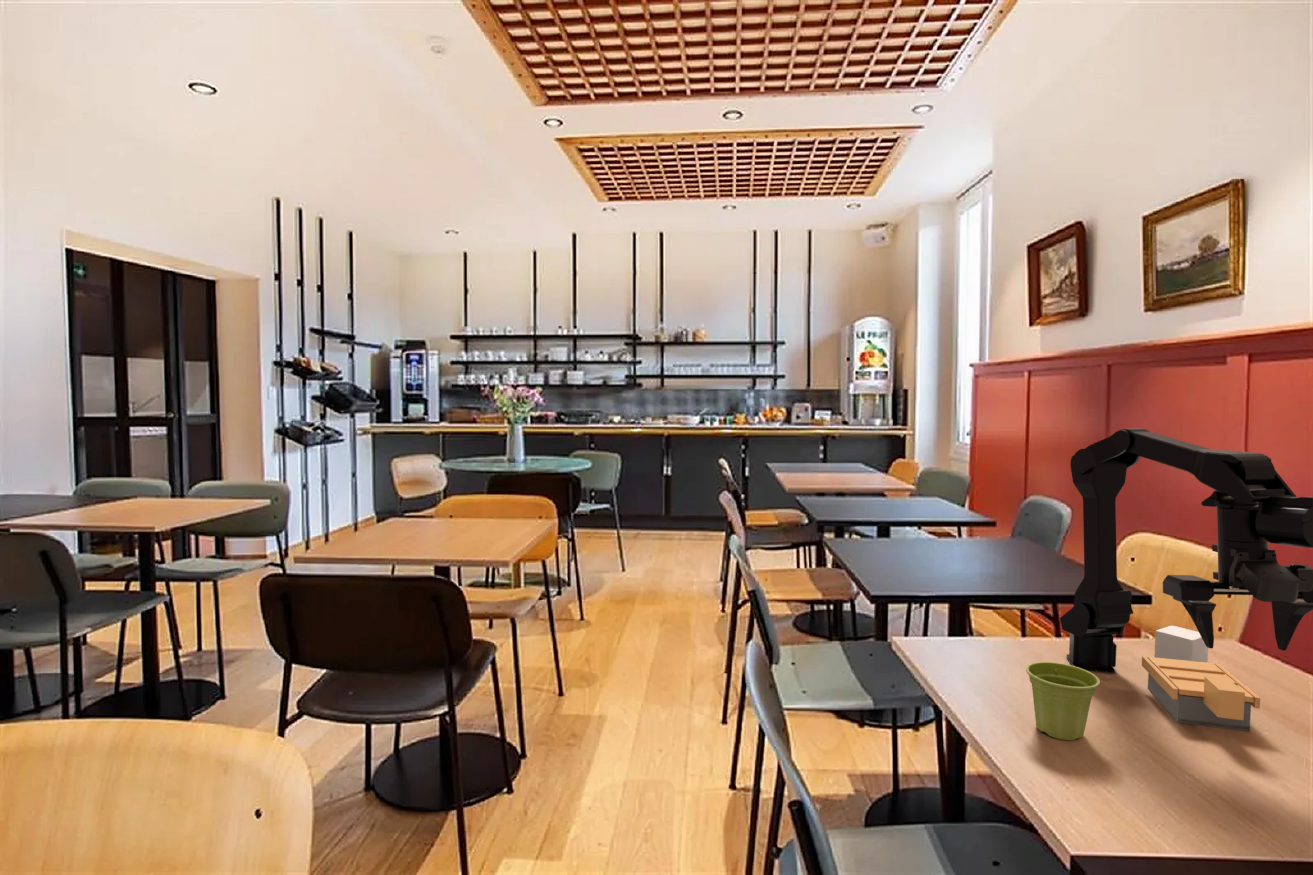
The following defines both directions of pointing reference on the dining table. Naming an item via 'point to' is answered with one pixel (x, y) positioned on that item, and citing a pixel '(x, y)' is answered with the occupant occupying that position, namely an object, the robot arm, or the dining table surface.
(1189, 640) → the white cube
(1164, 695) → the tub
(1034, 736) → the dining table surface
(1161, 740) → the dining table surface
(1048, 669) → the plant pot
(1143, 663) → the lid
